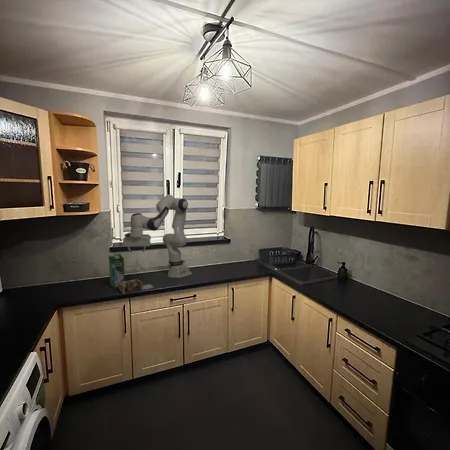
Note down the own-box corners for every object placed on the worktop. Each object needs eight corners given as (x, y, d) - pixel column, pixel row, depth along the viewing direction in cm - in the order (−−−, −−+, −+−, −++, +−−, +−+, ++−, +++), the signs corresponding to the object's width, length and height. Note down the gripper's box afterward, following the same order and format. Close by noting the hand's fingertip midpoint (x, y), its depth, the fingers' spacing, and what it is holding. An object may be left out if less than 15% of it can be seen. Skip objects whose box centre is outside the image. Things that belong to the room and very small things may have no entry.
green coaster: (149, 284, 212) (149, 284, 212) (153, 287, 206) (153, 286, 206) (140, 286, 207) (140, 286, 207) (144, 289, 201) (144, 289, 201)
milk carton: (113, 287, 205) (111, 257, 202) (110, 284, 212) (108, 255, 209) (124, 285, 211) (123, 255, 208) (121, 282, 218) (120, 253, 215)
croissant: (137, 285, 211) (137, 278, 210) (142, 289, 201) (142, 282, 201) (118, 289, 202) (118, 282, 201) (123, 293, 192) (123, 286, 192)
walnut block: (133, 287, 205) (132, 280, 204) (135, 289, 201) (134, 282, 200) (126, 289, 202) (126, 282, 201) (128, 291, 198) (128, 283, 197)
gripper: (151, 233, 201) (151, 251, 202) (123, 233, 197) (124, 251, 198) (150, 234, 194) (150, 252, 196) (122, 234, 191) (122, 253, 192)
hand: (136, 252), depth 197 cm, fingers open, 8 cm apart
